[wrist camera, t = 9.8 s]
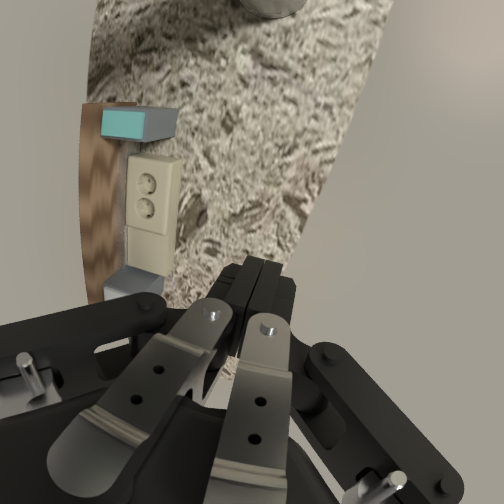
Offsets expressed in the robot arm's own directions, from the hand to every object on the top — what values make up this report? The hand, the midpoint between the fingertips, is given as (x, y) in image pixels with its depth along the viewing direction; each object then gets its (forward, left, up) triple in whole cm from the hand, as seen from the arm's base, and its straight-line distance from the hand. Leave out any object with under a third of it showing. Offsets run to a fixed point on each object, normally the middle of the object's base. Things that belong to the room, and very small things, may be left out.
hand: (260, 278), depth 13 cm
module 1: (-3, -22, -29) cm, 36 cm away
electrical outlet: (+11, -20, -30) cm, 37 cm away
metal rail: (+10, -24, -29) cm, 39 cm away
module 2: (+23, -22, -29) cm, 43 cm away
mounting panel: (+10, -26, -29) cm, 40 cm away
